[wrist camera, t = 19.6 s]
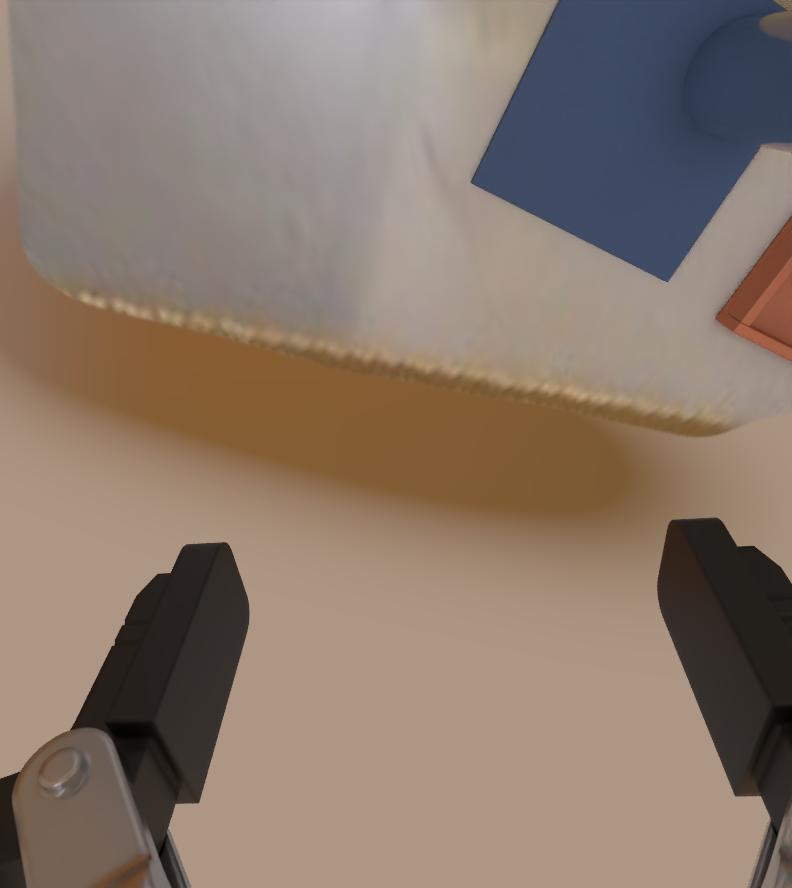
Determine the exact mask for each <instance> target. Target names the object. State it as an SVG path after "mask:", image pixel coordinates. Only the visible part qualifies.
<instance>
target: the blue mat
mask: <svg viewBox="0 0 792 888" xmlns="http://www.w3.org/2000/svg"><path fill="white" fill-rule="evenodd" d="M784 11H787V10H786V9H784V8H783V7H781V6H780V5H778V4H777V3H775V2H774V1H772V0H559V2H558V4H557V6H556V8H555V10H554V12H553V14H552V16H551V18H550V21H549V23H548V25H547V27H546V29H545V31H544V33H543V35H542V37H541V39H540V41H539V43H538V45H537V47H536V49H535V51H534V53H533V56H532V58H531V60H530V62H529V64H528V66H527V68H526V70H525V72H524V74H523V76H522V78H521V80H520V82H519V84H518V86H517V88H516V91H515V93H514V95H513V97H512V99H511V101H510V103H509V105H508V107H507V109H506V111H505V113H504V115H503V117H502V119H501V121H500V123H499V126H498V128H497V130H496V132H495V134H494V136H493V138H492V140H491V142H490V144H489V146H488V148H487V150H486V152H485V154H484V156H483V158H482V161H481V163H480V165H479V167H478V169H477V171H476V173H475V175H474V177H473V179H472V181H471V183H472V184H474V185H476V186H478V187H480V188H482V189H484V190H486V191H488V192H490V193H492V194H494V195H496V196H498V197H500V198H502V199H504V200H506V201H508V202H510V203H512V204H514V205H516V206H518V207H520V208H522V209H524V210H526V211H528V212H530V213H532V214H534V215H536V216H538V217H540V218H542V219H544V220H546V221H547V222H549V223H551V224H553V225H555V226H557V227H559V228H561V229H563V230H565V231H567V232H569V233H571V234H573V235H575V236H577V237H579V238H581V239H583V240H585V241H587V242H589V243H591V244H593V245H595V246H597V247H599V248H601V249H603V250H605V251H607V252H609V253H611V254H613V255H615V256H617V257H619V258H621V259H623V260H625V261H627V262H629V263H631V264H633V265H635V266H636V267H638V268H640V269H642V270H644V271H646V272H648V273H650V274H652V275H654V276H656V277H658V278H660V279H662V280H664V281H666V282H668V281H669V279H670V278H671V277H672V275H673V274H674V272H675V271H676V269H677V268H678V266H679V265H680V263H681V262H682V261H683V259H684V258H685V256H686V255H687V253H688V252H689V250H690V249H691V247H692V246H693V244H694V243H695V242H696V240H697V239H698V237H699V236H700V234H701V233H702V231H703V230H704V228H705V227H706V226H707V224H708V223H709V221H710V220H711V218H712V217H713V215H714V214H715V212H716V211H717V210H718V208H719V207H720V205H721V204H722V202H723V201H724V199H725V198H726V196H727V195H728V193H729V192H730V191H731V189H732V188H733V186H734V185H735V183H736V182H737V180H738V179H739V177H740V176H741V175H742V173H743V172H744V170H745V169H746V167H747V166H748V164H749V163H750V161H751V160H752V159H753V157H754V156H755V154H756V153H757V151H758V150H759V148H760V147H761V146H757V145H752V144H748V143H743V142H738V141H734V140H729V139H724V138H720V137H715V136H711V135H708V134H706V133H704V132H703V131H701V130H700V129H698V128H697V127H696V126H695V125H694V123H693V122H692V120H691V119H690V117H689V115H688V112H687V109H686V105H685V98H684V89H685V81H686V76H687V73H688V69H689V67H690V64H691V62H692V60H693V58H694V56H695V54H696V53H697V51H698V50H699V48H700V47H701V45H702V44H703V43H704V42H705V40H706V39H707V38H708V37H709V36H710V35H711V34H712V33H713V32H715V31H716V30H717V29H718V28H720V27H721V26H723V25H724V24H726V23H728V22H730V21H732V20H735V19H738V18H741V17H746V16H753V15H761V14H769V13H776V12H784Z"/></svg>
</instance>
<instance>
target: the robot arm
mask: <svg viewBox="0 0 792 888" xmlns="http://www.w3.org/2000/svg"><path fill="white" fill-rule="evenodd" d="M657 591H658V600H659V606H660V609H661V613H662V616H663V618H664V621H665V623H666V626H667V628H668V631H669V633H670V636H671V638H672V641H673V643H674V646H675V648H676V650H677V653H678V655H679V658H680V660H681V663H682V665H683V668H684V670H685V673H686V675H687V678H688V680H689V683H690V685H691V688H692V690H693V693H694V695H695V698H696V700H697V703H698V705H699V708H700V710H701V713H702V715H703V718H704V720H705V723H706V725H707V727H708V730H709V732H710V735H711V737H712V740H713V743H714V745H715V747H716V750H717V752H718V755H719V757H720V760H721V762H722V765H723V767H724V770H725V772H726V775H727V777H728V780H729V782H730V785H731V787H732V790H733V792H734V795H735V796H761V797H762V799H763V802H764V804H765V806H766V809H767V811H768V813H769V815H770V819H769V821H768V823H767V826H766V829H765V832H764V835H763V839H762V842H761V845H760V848H759V851H758V855H757V858H756V861H755V865H754V867H753V871H752V874H751V877H750V880H749V883H748V887H747V888H792V584H791V582H790V580H789V579H788V577H787V576H786V574H785V573H784V571H783V570H782V568H781V567H780V566H779V565H777V564H776V563H775V562H774V561H772V560H771V559H770V558H768V557H767V556H766V555H765V554H763V553H762V552H761V551H760V550H758V549H757V548H756V547H755V546H742V547H737V545H736V544H735V542H734V540H733V539H732V537H731V535H730V534H729V532H728V530H727V529H726V527H725V525H724V524H723V522H722V521H721V520H720V519H718V518H699V519H680V520H672V521H671V522H670V523H669V525H668V529H667V534H666V539H665V544H664V549H663V555H662V560H661V565H660V570H659V575H658V582H657ZM248 625H249V602H248V597H247V594H246V592H245V589H244V585H243V582H242V579H241V576H240V574H239V571H238V568H237V565H236V562H235V559H234V556H233V553H232V550H231V548H230V546H229V545H228V544H227V543H225V542H222V543H205V544H204V543H203V544H187V545H185V546H184V547H183V548H182V549H181V551H180V553H179V556H178V558H177V560H176V562H175V565H174V567H173V569H172V571H171V573H165V574H157V575H156V576H155V577H154V578H153V579H152V580H151V581H150V583H148V585H147V586H146V587H145V588H144V589H143V590H142V591H141V592H140V593H139V594H138V595H137V596H136V598H135V600H134V602H133V604H132V606H131V608H130V610H129V612H128V615H127V616H126V619H125V625H122V627H121V629H120V631H119V633H118V635H117V637H116V639H115V645H114V646H112V647H111V650H110V651H109V653H108V655H107V657H106V659H105V662H104V663H103V666H102V668H101V670H100V672H99V674H98V676H97V678H96V680H95V682H94V684H93V686H92V688H91V690H90V692H89V694H88V696H87V698H86V700H85V702H84V704H83V707H82V709H81V711H80V713H79V715H78V717H77V719H76V721H75V723H74V724H73V726H72V728H71V729H70V731H67V732H65V733H62V734H61V735H59V736H56V737H55V738H53V739H52V740H50V741H49V742H47V743H46V744H44V745H43V746H42V747H41V748H39V749H38V750H37V751H36V752H35V753H34V754H33V755H32V756H31V758H30V759H29V760H28V761H27V763H26V764H25V765H24V767H23V768H22V770H21V771H20V772H18V773H15V774H13V775H10V776H7V777H4V778H1V779H0V888H191V885H190V883H189V880H188V877H187V875H186V872H185V869H184V867H183V864H182V861H181V859H180V856H179V853H178V851H177V848H176V846H175V843H174V840H173V838H172V835H171V832H170V831H169V829H168V827H169V823H170V820H171V817H172V814H173V811H174V807H175V804H184V803H199V801H200V798H201V794H202V791H203V787H204V783H205V780H206V777H207V773H208V769H209V766H210V762H211V759H212V755H213V752H214V748H215V745H216V741H217V737H218V733H219V730H220V727H221V723H222V719H223V716H224V712H225V709H226V705H227V702H228V698H229V695H230V691H231V688H232V684H233V680H234V677H235V673H236V670H237V666H238V663H239V659H240V656H241V652H242V648H243V645H244V641H245V638H246V634H247V630H248Z"/></svg>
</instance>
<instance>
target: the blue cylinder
mask: <svg viewBox="0 0 792 888" xmlns="http://www.w3.org/2000/svg"><path fill="white" fill-rule="evenodd" d="M684 98H685V105H686V109H687V112H688V115H689V117H690V119H691V120H692V122H693V123H694V125H695V126H696V127H697V128H698V129H700V130H701V131H703V132H704V133H706V134H708V135H711V136H715V137H720V138H724V139H729V140H734V141H738V142H743V143H748V144H752V145H757V146H762V147H767V148H771V149H776V150H781V151H785V152H790V153H792V11H784V12H776V13H769V14H761V15H753V16H746V17H741V18H738V19H735V20H732V21H730V22H728V23H726V24H724V25H723V26H721V27H720V28H718V29H717V30H716V31H715V32H713V33H712V34H711V35H710V36H709V37H708V38H707V39H706V40H705V42H704V43H703V44H702V45H701V47H700V48H699V50H698V51H697V53H696V54H695V56H694V58H693V60H692V62H691V64H690V67H689V69H688V73H687V76H686V81H685V89H684Z"/></svg>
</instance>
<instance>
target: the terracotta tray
mask: <svg viewBox="0 0 792 888" xmlns="http://www.w3.org/2000/svg"><path fill="white" fill-rule="evenodd" d="M716 320H718V321H719V322H720V323H722V324H723V325H724V326H726V327H727V328H728V329H730V330H731V331H732V332H734V333H736V334H738V335H740V336H742V337H744V338H746V339H748V340H750V341H752V342H754V343H756V344H758V345H760V346H762V347H764V348H766V349H768V350H770V351H772V352H774V353H776V354H778V355H780V356H782V357H784V358H786V359H788V360H790V361H792V217H791V218H790V220H789V221H788V222H787V224H786V225H785V226H784V228H783V229H782V230H781V232H780V233H779V234H778V236H777V237H776V239H775V240H774V241H773V243H772V244H771V245H770V247H769V248H768V249H767V251H766V252H765V253H764V255H763V256H762V257H761V259H760V260H759V261H758V263H757V264H756V265H755V267H754V268H753V269H752V271H751V272H750V273H749V275H748V276H747V277H746V279H745V280H744V281H743V283H742V284H741V285H740V287H739V288H738V289H737V291H736V292H735V293H734V295H733V296H732V297H731V299H730V300H729V301H728V303H727V304H726V305H725V307H724V308H723V309H722V311H721V312H720V313H719V315H718V316H717V317H716Z"/></svg>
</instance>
